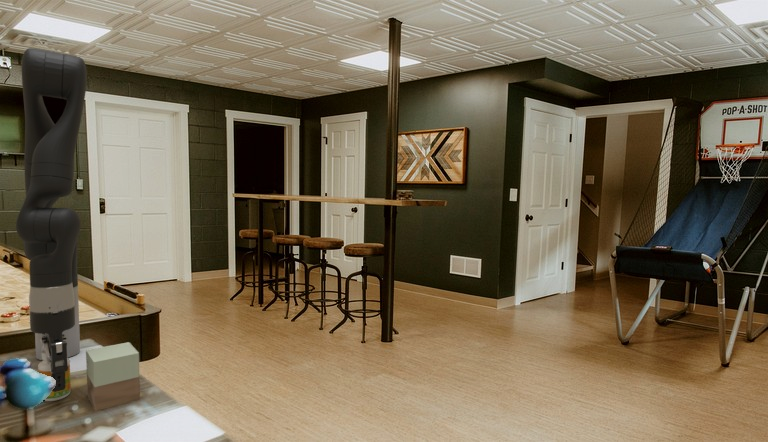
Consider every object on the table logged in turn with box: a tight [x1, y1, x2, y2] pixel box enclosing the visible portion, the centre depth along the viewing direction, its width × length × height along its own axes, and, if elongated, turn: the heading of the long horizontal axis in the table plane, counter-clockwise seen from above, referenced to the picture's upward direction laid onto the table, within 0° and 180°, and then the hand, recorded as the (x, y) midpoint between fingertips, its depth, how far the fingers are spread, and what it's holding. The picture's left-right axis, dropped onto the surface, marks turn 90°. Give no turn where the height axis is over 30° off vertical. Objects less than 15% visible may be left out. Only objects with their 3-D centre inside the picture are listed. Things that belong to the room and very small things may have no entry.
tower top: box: [85, 341, 140, 387], centre depth 98 cm, size 8×8×5 cm
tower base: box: [86, 374, 141, 412], centre depth 99 cm, size 8×8×5 cm
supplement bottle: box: [37, 350, 72, 402], centre depth 99 cm, size 5×5×10 cm
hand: (55, 383), depth 99 cm, fingers open, 8 cm apart
